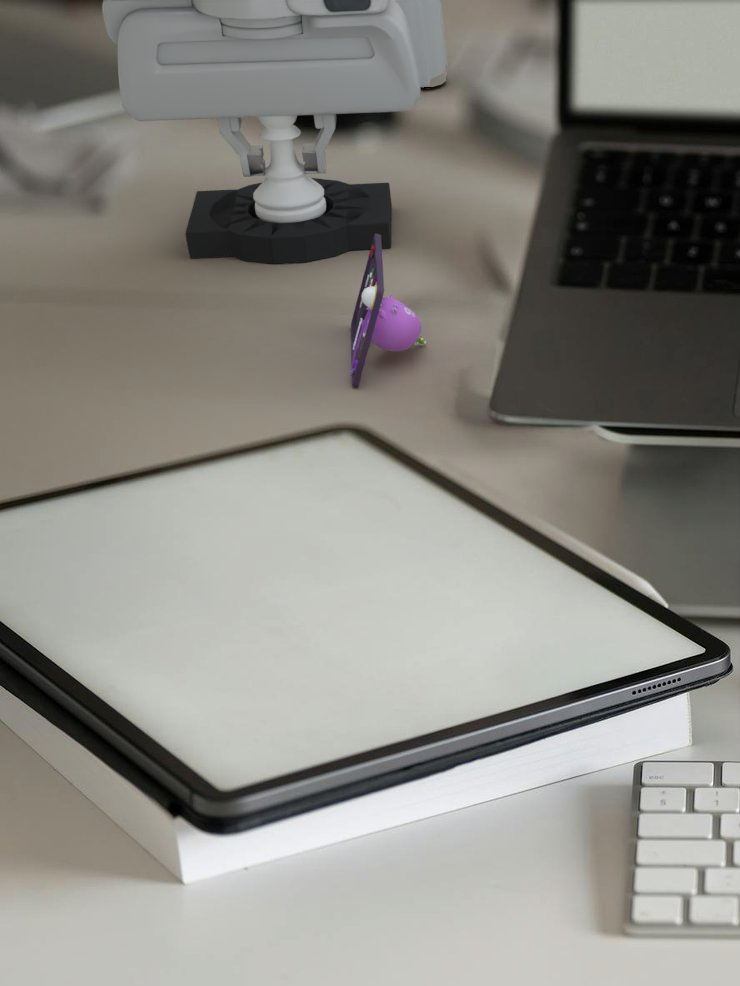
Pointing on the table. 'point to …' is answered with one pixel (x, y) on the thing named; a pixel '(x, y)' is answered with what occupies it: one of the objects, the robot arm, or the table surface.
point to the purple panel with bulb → (379, 316)
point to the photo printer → (426, 36)
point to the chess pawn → (286, 178)
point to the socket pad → (289, 225)
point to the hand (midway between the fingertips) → (286, 172)
